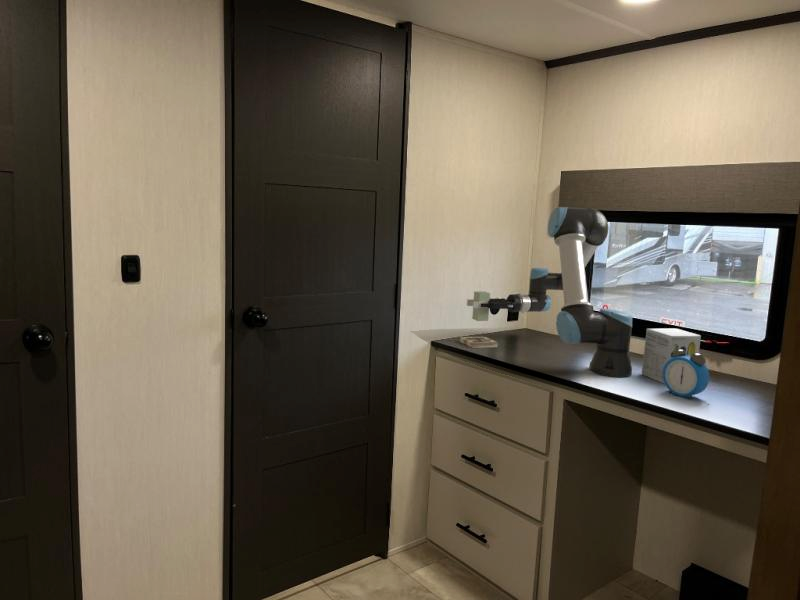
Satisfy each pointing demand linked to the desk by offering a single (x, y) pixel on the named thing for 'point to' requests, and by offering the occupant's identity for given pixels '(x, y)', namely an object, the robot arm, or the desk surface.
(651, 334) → the supplement box
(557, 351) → the desk surface
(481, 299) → the sage pillar
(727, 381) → the desk surface
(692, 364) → the alarm clock
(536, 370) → the desk surface
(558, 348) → the desk surface
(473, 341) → the letter tile
